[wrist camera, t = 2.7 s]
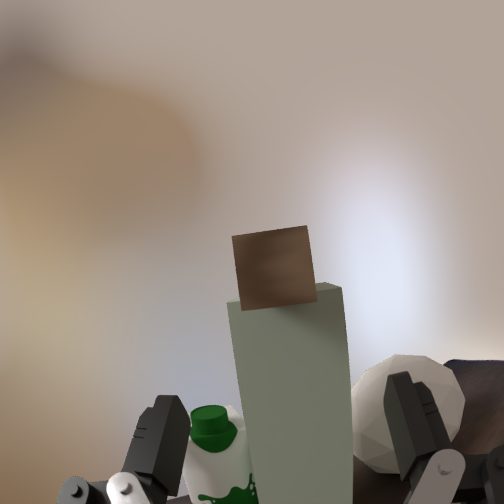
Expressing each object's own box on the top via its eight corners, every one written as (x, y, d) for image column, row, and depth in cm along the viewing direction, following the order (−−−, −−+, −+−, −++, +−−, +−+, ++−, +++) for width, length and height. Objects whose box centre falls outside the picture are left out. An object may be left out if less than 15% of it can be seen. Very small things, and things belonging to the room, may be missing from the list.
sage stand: (270, 562, 22) (226, 302, 25) (278, 502, 35) (249, 292, 38) (349, 555, 21) (341, 287, 24) (340, 495, 34) (325, 282, 37)
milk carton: (207, 549, 25) (169, 427, 27) (195, 511, 34) (164, 398, 35) (273, 533, 28) (253, 411, 30) (252, 499, 37) (232, 387, 38)
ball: (369, 496, 39) (299, 421, 46) (432, 420, 48) (373, 352, 56) (440, 502, 23) (349, 402, 31) (503, 395, 33) (432, 307, 40)
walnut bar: (241, 311, 17) (231, 236, 17) (270, 289, 37) (265, 256, 38) (317, 301, 16) (306, 225, 16) (304, 285, 37) (299, 251, 37)
